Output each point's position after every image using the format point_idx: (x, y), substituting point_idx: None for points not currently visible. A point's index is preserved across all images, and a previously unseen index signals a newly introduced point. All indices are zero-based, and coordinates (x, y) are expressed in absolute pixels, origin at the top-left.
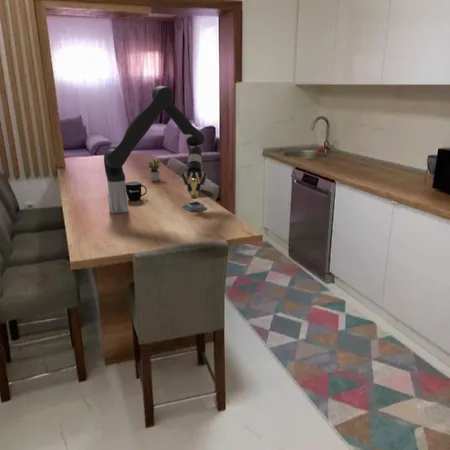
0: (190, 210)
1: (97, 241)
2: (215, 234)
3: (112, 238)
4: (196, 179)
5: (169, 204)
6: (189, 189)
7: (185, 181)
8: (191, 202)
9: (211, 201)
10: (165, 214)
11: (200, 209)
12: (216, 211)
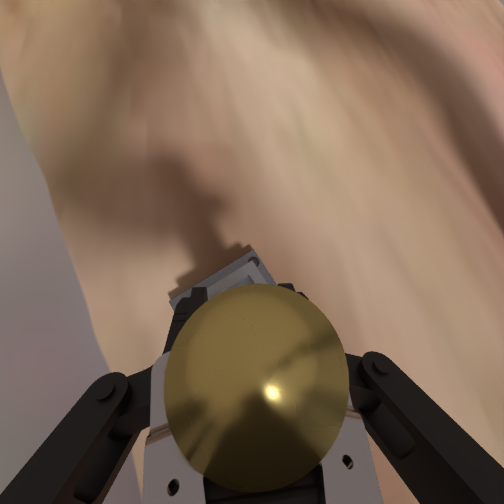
0: (253, 251)
1: (453, 6)
2: (137, 9)
3: (428, 19)
4: (194, 314)
5: None
6: (285, 283)
7: (385, 367)
8: None
9: None
10: (355, 218)
11: (204, 279)
12: (120, 260)
